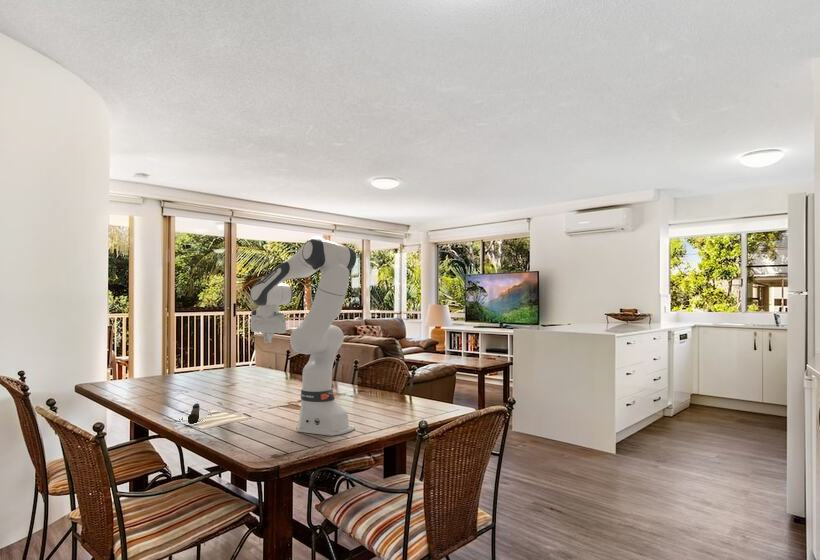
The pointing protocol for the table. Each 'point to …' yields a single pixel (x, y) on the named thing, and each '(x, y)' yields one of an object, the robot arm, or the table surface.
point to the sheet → (218, 419)
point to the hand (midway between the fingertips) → (267, 342)
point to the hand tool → (194, 414)
